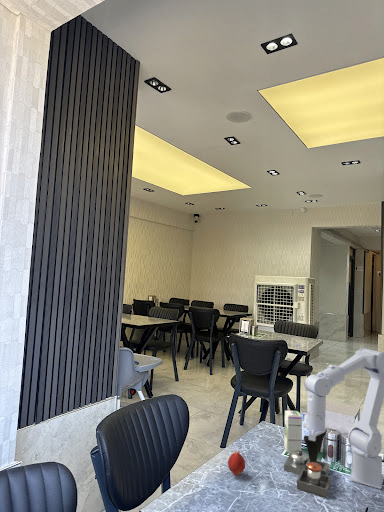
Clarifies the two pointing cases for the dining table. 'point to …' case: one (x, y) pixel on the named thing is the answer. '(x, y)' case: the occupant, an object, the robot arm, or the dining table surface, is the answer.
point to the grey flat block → (302, 463)
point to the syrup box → (292, 431)
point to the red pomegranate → (236, 463)
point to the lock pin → (314, 473)
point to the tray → (316, 490)
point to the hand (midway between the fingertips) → (314, 455)
